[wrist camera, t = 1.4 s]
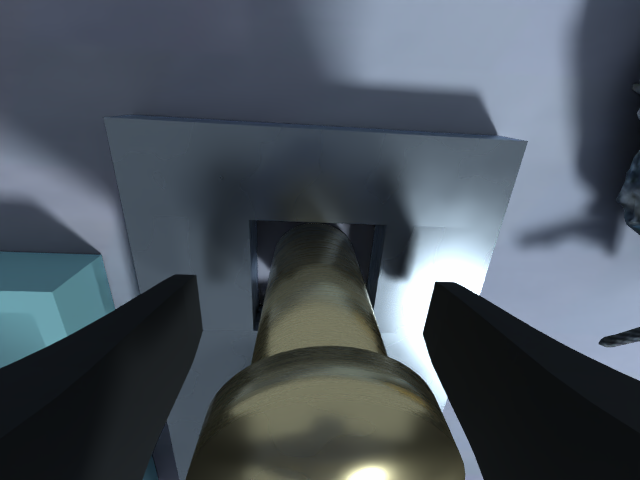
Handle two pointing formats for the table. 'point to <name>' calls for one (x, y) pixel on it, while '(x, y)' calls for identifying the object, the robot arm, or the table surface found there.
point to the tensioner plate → (303, 206)
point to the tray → (50, 303)
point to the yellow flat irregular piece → (636, 200)
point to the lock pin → (323, 384)
